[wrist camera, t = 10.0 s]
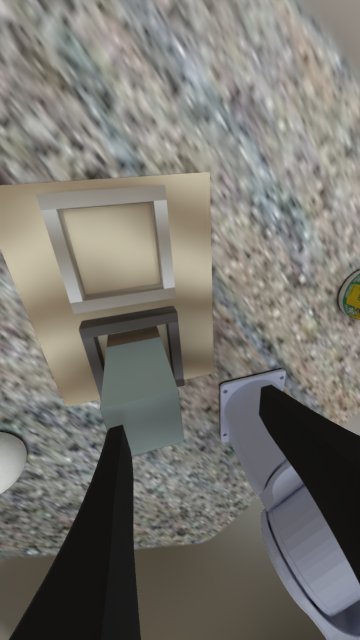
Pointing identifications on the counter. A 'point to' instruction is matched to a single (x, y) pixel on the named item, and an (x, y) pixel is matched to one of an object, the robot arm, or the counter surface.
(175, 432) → the banded peg
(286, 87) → the counter surface
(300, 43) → the counter surface
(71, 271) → the board
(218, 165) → the counter surface
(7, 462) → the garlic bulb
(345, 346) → the counter surface
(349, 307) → the supplement bottle
